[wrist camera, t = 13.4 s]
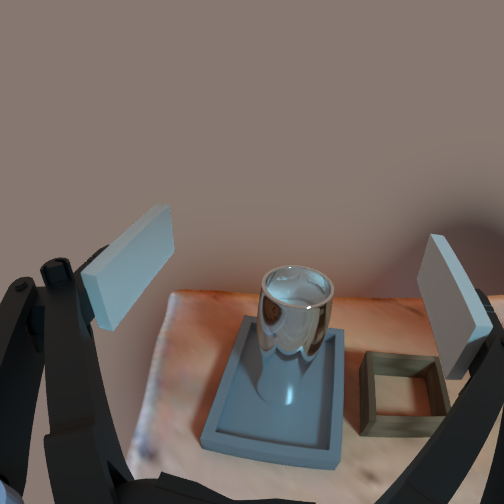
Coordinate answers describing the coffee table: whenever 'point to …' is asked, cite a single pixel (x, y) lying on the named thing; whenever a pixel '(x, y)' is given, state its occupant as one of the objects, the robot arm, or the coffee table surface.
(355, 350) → the coffee table surface
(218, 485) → the coffee table surface
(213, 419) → the slate tray
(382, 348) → the coffee table surface
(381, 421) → the walnut holder
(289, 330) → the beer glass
